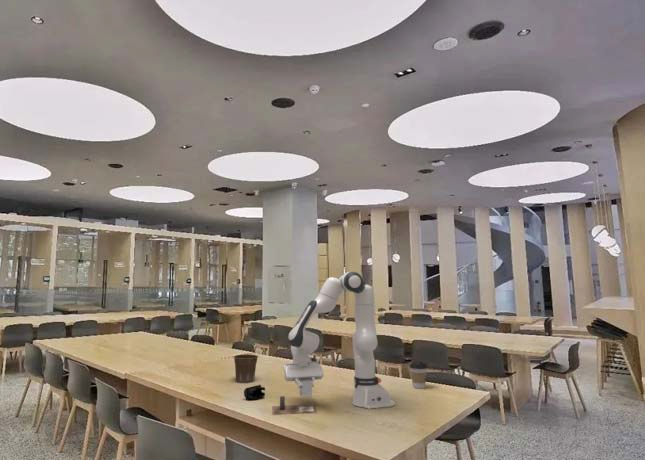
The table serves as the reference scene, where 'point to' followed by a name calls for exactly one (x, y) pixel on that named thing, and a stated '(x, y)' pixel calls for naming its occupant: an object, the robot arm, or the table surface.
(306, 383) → the tall grey pillar
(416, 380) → the coffee cup
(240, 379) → the plant pot
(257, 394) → the end cap
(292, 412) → the walnut board
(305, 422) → the table surface
